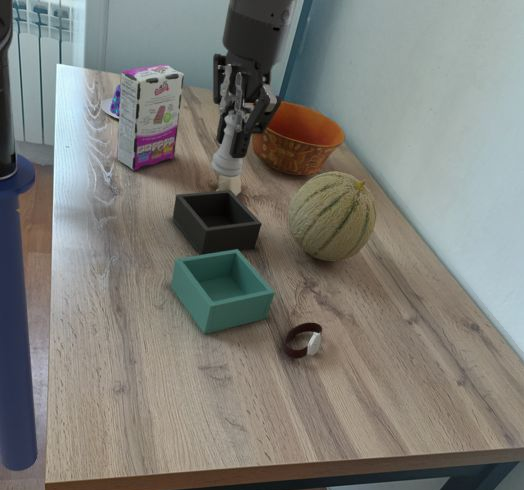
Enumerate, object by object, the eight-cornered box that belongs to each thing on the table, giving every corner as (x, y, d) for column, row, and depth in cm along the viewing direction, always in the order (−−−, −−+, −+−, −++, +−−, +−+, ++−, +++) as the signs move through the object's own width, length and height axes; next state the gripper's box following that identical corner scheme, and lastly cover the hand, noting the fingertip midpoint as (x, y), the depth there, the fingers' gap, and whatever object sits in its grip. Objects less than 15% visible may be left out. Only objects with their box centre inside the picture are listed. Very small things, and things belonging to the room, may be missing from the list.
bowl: (290, 138, 130) (302, 96, 123) (349, 183, 120) (365, 141, 113) (220, 144, 118) (229, 98, 111) (278, 195, 108) (292, 148, 101)
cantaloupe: (269, 227, 99) (291, 149, 88) (338, 230, 104) (367, 157, 94) (296, 278, 89) (324, 198, 79) (371, 278, 95) (407, 203, 85)
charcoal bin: (200, 257, 87) (206, 230, 83) (172, 220, 92) (175, 194, 89) (254, 248, 92) (262, 223, 89) (224, 214, 98) (230, 189, 94)
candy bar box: (156, 148, 110) (166, 63, 98) (174, 159, 108) (186, 74, 97) (114, 159, 102) (119, 69, 91) (133, 171, 101) (140, 81, 89)
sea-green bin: (204, 334, 74) (210, 306, 71) (170, 286, 80) (175, 258, 76) (266, 318, 80) (275, 292, 77) (231, 275, 85) (237, 248, 82)
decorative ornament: (209, 197, 101) (214, 170, 97) (226, 180, 107) (232, 155, 103) (229, 205, 101) (235, 179, 97) (245, 188, 107) (251, 163, 103)
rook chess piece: (231, 161, 79) (243, 106, 73) (246, 177, 76) (260, 122, 71) (204, 162, 76) (215, 106, 71) (220, 179, 74) (232, 122, 68)
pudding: (138, 99, 124) (140, 76, 121) (166, 123, 119) (169, 99, 115) (90, 102, 117) (90, 76, 114) (117, 127, 112) (119, 102, 108)
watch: (301, 369, 74) (309, 350, 72) (273, 351, 75) (280, 332, 73) (326, 342, 80) (334, 324, 77) (299, 325, 81) (306, 307, 78)
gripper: (205, -16, 64) (183, 125, 76) (265, 29, 57) (231, 178, 69) (257, -8, 68) (229, 125, 80) (320, 36, 61) (278, 175, 72)
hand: (230, 149), depth 74 cm, fingers closed on rook chess piece, 3 cm apart
